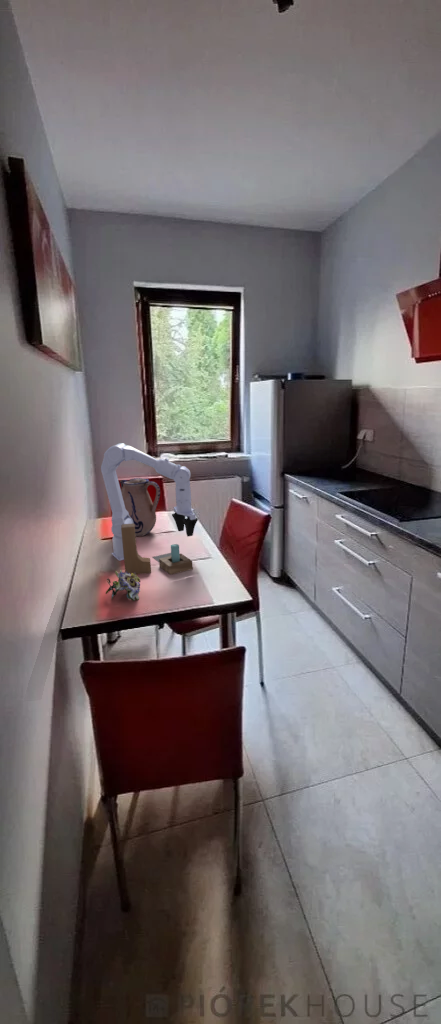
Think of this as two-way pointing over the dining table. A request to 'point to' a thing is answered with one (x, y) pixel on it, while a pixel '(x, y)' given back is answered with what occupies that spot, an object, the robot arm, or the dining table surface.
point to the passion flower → (126, 585)
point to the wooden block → (133, 552)
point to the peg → (175, 553)
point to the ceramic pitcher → (140, 504)
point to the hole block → (175, 564)
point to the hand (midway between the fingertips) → (185, 533)
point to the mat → (161, 556)
